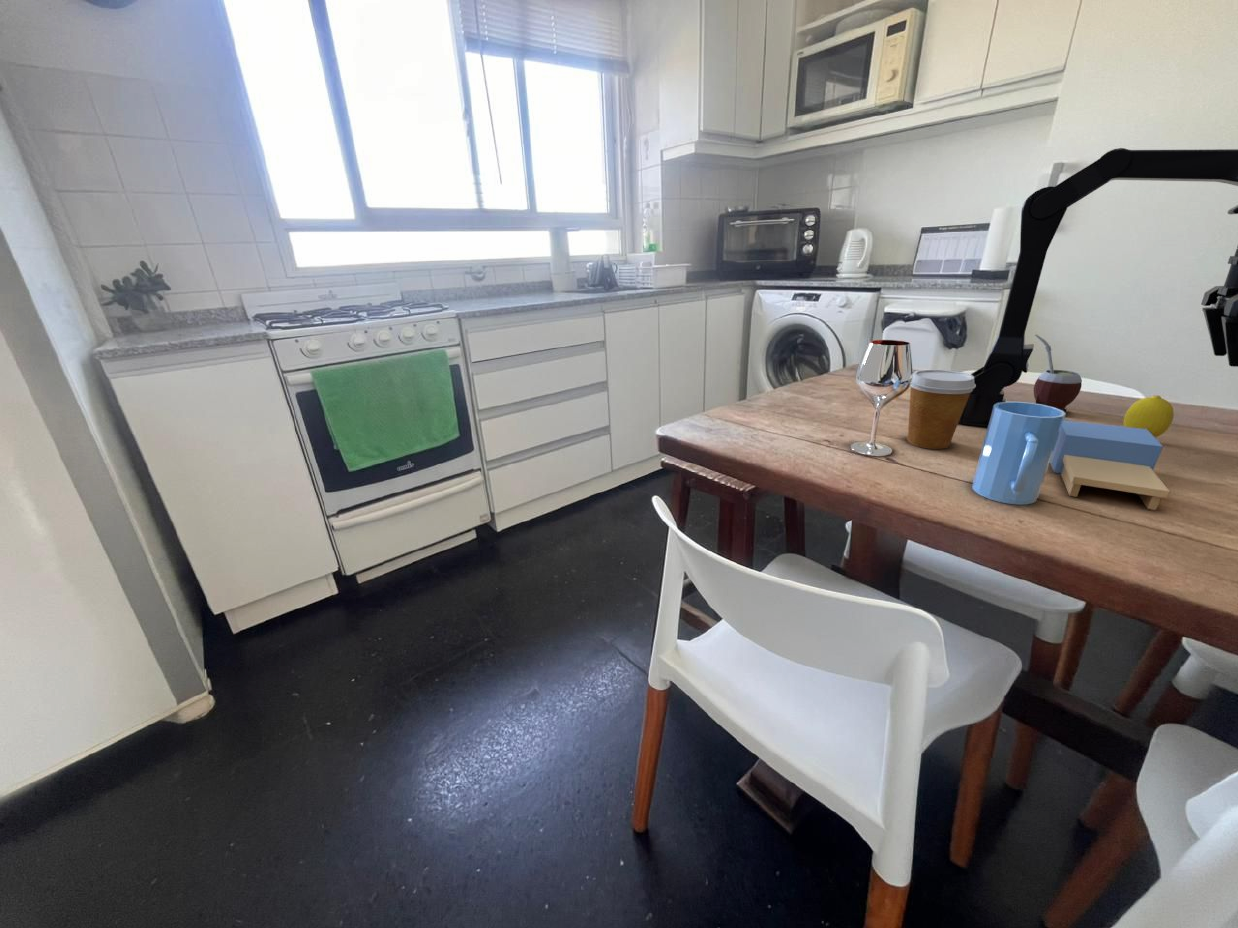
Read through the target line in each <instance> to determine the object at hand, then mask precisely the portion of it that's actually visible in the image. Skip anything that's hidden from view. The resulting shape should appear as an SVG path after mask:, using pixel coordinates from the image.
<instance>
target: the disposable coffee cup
mask: <svg viewBox="0 0 1238 928" xmlns="http://www.w3.org/2000/svg"><path fill="white" fill-rule="evenodd" d="M975 387H976V385H975V384H974V376H972V375H971V373H966V372H962V371H956V370H948V369H947V370H945V369H919V370H916V371H913V379H912V383H911V385H910V395H909V408H908V409H909V410H908V411H909V412H908V426H907V442H908V443H909V444H911V445H913V446H916V447H920V448H922V449H923V448H924V449H931V450H942V449H948V448H949V447H950V445H951V441H952V440H953V437H954V435H955V432H956V430H957V428H958V426H959V424H958V422H959V420H960V418H961V415H962V413H963V410H964V408H965V405H966V403H967V400H968V398H969V395H970V393H971V392H972V391H973V389H974V388H975Z"/></svg>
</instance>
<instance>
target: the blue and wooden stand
mask: <svg viewBox="0 0 1238 928" xmlns="http://www.w3.org/2000/svg"><path fill="white" fill-rule="evenodd" d="M1163 448H1164V445H1162V443H1160V441H1159V440H1158V439H1157V437H1154V436H1153V435H1152V434H1151V433H1150V432H1149V431H1148V430H1147V429H1140V428H1131V427H1124V426H1122V425H1121V426H1120V425H1111V424H1102V423H1094V422H1093V423H1092V422H1084V421H1075V420H1066V419H1064V421H1063V424H1062V427H1061V430H1060V433H1059V436H1058V439H1057V442H1056V445H1055V448H1054V451H1053V454H1052V457H1051V460H1050V463H1049V465H1050V466H1051V470H1052V472H1053V473H1056V474H1060V476H1061V478H1062V481H1063V483H1064V486H1065V488H1066V491H1067V493H1068V496H1070V497H1075V498H1077V497H1078V495H1079V492H1080V489H1081V487H1082V486H1087V487H1093V488H1099V489H1106V490H1110V491H1111V490H1112V491H1118V492H1123V493H1124V492H1125V493H1130V494H1131V493H1132V494H1136V495H1137V496H1138V497H1139V499H1140V500H1141V502H1142V503H1143V504H1144V506H1145V507H1146V509H1147V510H1152V511H1156V510H1157V509H1158V507H1159V504H1160V503H1161V499H1162V498H1163V499H1167V498H1168V496H1169V494H1170V490H1169V489H1168V487H1167V486H1166V485H1165V484H1164V483H1163V481H1162V480H1161V479H1160V477H1159V476H1158V475H1157V474H1156V472H1155V471H1154V469H1155V467H1156V464H1157V462H1158V460H1159V458H1160V455H1161V453H1162V451H1163Z"/></svg>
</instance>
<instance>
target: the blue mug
mask: <svg viewBox="0 0 1238 928" xmlns="http://www.w3.org/2000/svg"><path fill="white" fill-rule="evenodd" d="M1066 415H1067V413H1066V412H1064V411H1062V410H1060V409H1057V408H1055V407H1051V406H1046V405H1042V404H1036V402H1028V401H1027V402H1026V401H1006V402H1000V403H996V404H995V405H994V406H993V410H992V414H991V417H990V421H989V425H988V427H986V431H985V432H986V433H985V436H984V439H983V444H982V447H981V450H980V454H979V458H978V462H977V465H976V469H975V473H974V476H973V480H972V485H971V488H972V490H973V491H974V492H975V493H976V494H978V495H979V496H981V497H983V498H985V499H989V500H991V501H994V502H999V503H1003V504H1008V505H1017V506H1019V505H1020V506H1024V505H1031V504H1034V503H1036V502H1037V500H1038V498H1039V496H1040V493H1041V490H1042V487H1043V484H1044V481H1045V478H1046V475H1047V472H1048V469H1049V466H1050V460H1051V457H1052V454H1053V451H1054V448H1055V445H1056V442H1057V439H1058V436H1059V433H1060V430H1061V427H1062V424H1063V421H1064V420H1065V418H1066Z"/></svg>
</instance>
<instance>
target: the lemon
mask: <svg viewBox="0 0 1238 928" xmlns="http://www.w3.org/2000/svg"><path fill="white" fill-rule="evenodd" d="M1174 413H1175V411H1174V407H1173V406H1172V404H1171V403H1170V402H1169V401H1168V400H1166V399H1165V398H1162V397H1161V396H1160V395H1157V394H1155V395H1152V396H1148V397H1143V398H1141V399H1138V400H1136V401H1135V402H1133V403H1132V404H1131V405H1130V406H1129V408H1128V409H1127V411H1126V412H1125V415H1124V417H1123V421H1122V422H1123V423H1122V424H1123V425H1122V426H1123V427H1131V428H1140V429H1147V430H1148V431H1149V432H1150V433H1151V434H1152V435H1153V436H1154V437H1155V438H1157V437H1160V436H1161V435H1163V434H1164V433H1166V432H1167V431H1168V430H1169V428H1170V427H1171V425H1172V423H1173V420H1174Z"/></svg>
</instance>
